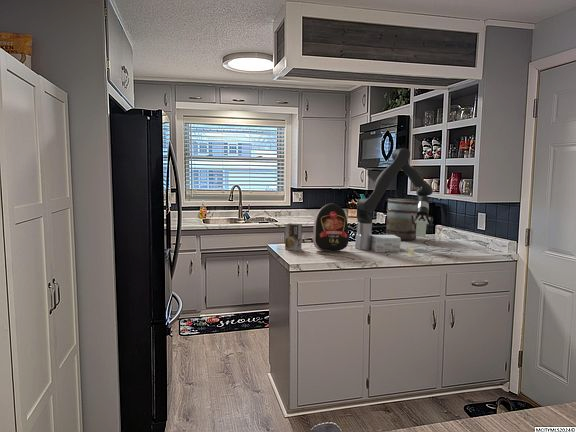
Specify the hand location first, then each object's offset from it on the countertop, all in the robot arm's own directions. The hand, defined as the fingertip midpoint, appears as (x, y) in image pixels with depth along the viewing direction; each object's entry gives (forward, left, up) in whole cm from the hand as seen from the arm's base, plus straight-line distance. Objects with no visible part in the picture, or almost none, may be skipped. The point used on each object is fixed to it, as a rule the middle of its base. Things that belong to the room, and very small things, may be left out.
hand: (421, 229), depth 274 cm
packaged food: (-57, +16, -15) cm, 61 cm away
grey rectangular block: (+1, +1, -4) cm, 5 cm away
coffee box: (-78, +26, -15) cm, 84 cm away
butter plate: (-12, -7, -15) cm, 20 cm away
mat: (+1, +1, -15) cm, 15 cm away
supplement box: (-19, +12, -15) cm, 27 cm away
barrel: (+21, +48, -15) cm, 55 cm away
